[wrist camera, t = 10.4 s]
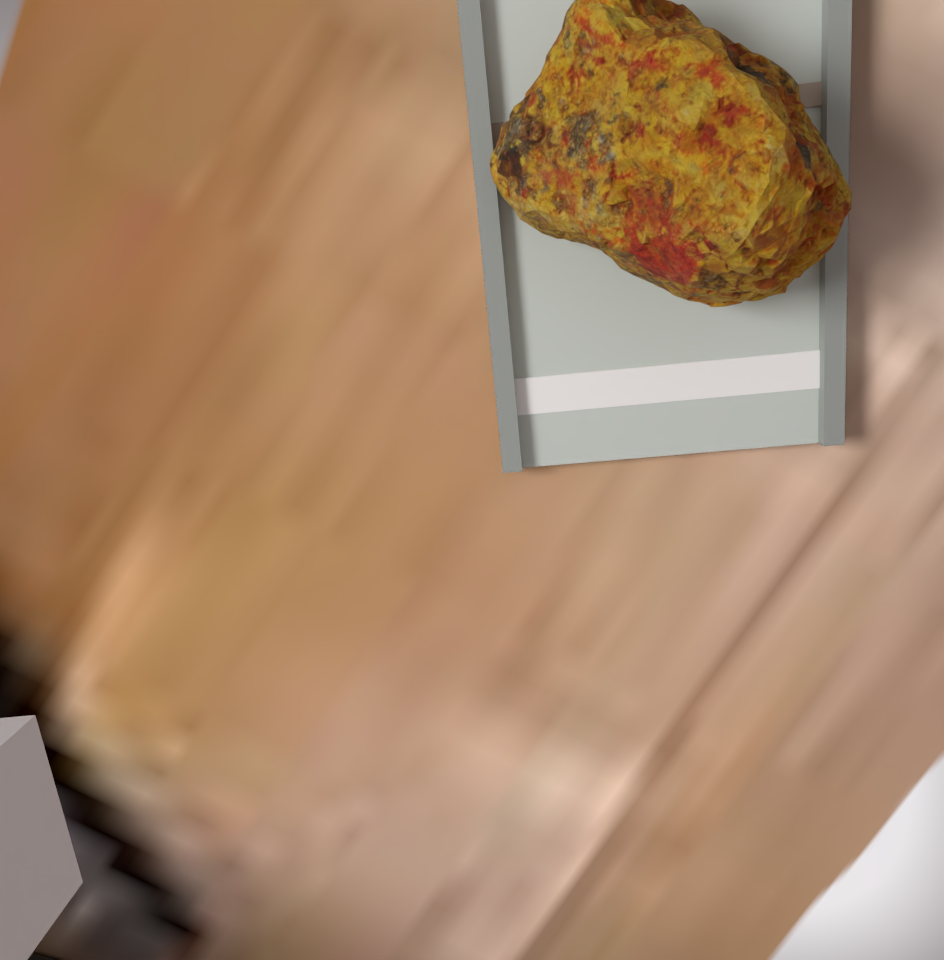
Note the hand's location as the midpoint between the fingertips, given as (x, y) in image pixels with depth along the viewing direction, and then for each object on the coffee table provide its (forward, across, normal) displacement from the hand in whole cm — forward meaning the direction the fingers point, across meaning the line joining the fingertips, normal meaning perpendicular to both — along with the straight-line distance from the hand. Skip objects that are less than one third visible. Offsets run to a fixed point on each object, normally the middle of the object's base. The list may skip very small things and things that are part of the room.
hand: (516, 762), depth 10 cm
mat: (+23, +6, +8) cm, 25 cm away
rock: (+22, +7, +10) cm, 25 cm away
